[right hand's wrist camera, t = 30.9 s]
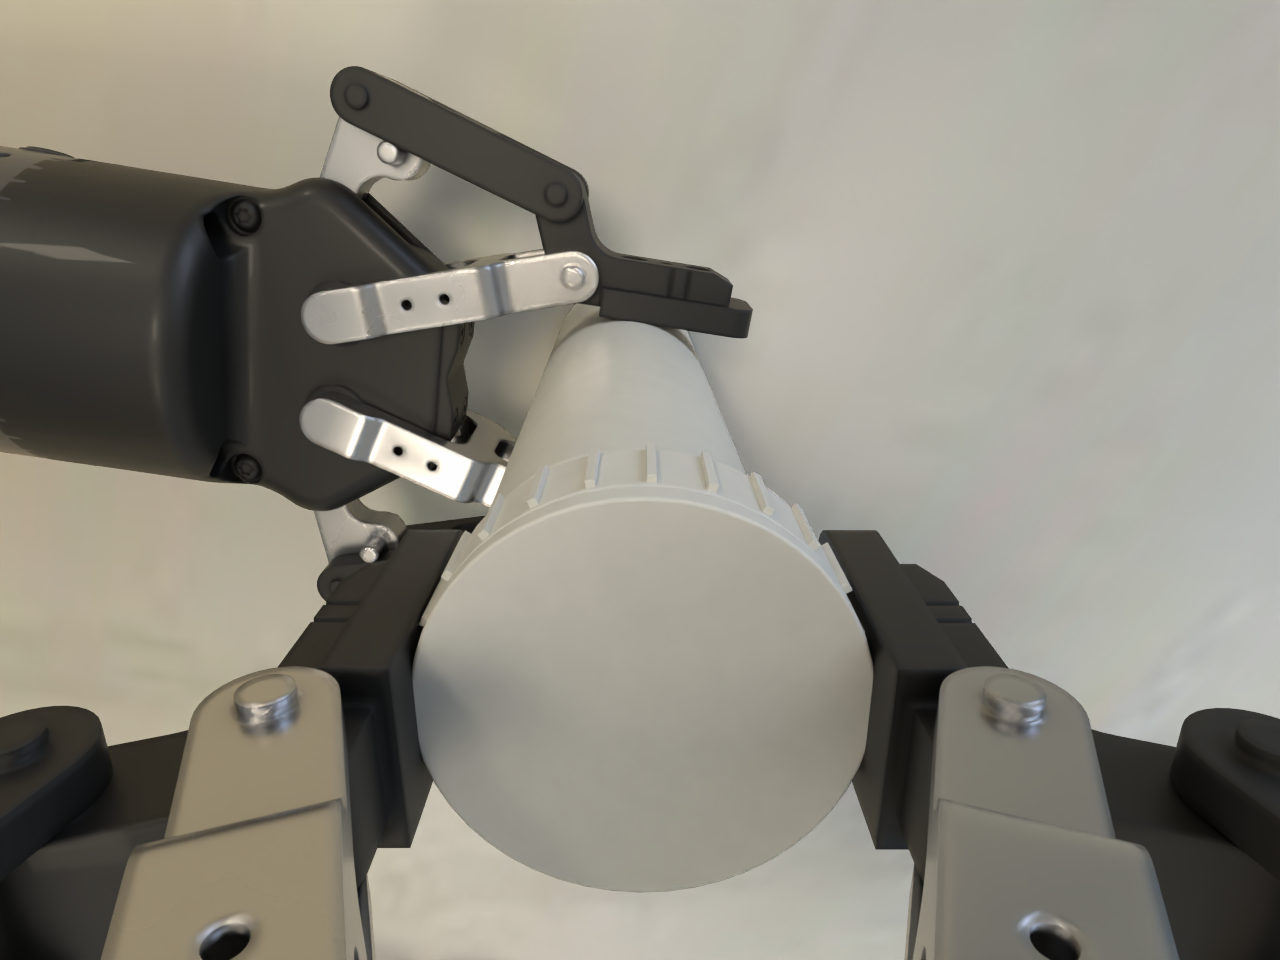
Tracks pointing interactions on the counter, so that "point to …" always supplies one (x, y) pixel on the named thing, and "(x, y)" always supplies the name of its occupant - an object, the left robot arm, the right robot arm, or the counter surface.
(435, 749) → the lid
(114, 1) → the counter surface
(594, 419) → the white cylindrical bottle
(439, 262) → the left robot arm
